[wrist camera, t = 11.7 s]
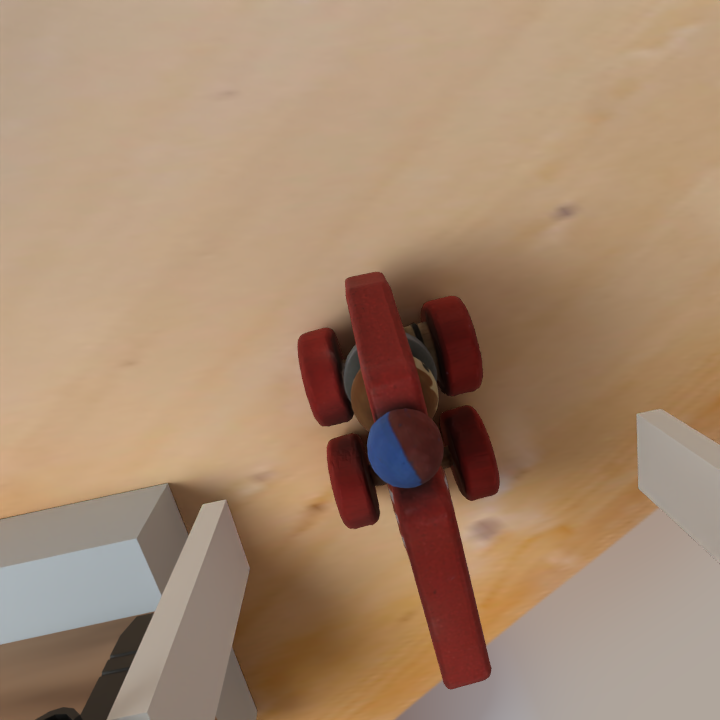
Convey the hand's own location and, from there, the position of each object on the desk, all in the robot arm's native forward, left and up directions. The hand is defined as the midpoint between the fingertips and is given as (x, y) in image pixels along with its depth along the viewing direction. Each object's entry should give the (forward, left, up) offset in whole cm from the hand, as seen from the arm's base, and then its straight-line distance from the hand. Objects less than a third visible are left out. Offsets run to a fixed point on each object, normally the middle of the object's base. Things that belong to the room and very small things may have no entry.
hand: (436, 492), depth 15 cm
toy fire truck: (0, 0, -8) cm, 8 cm away
